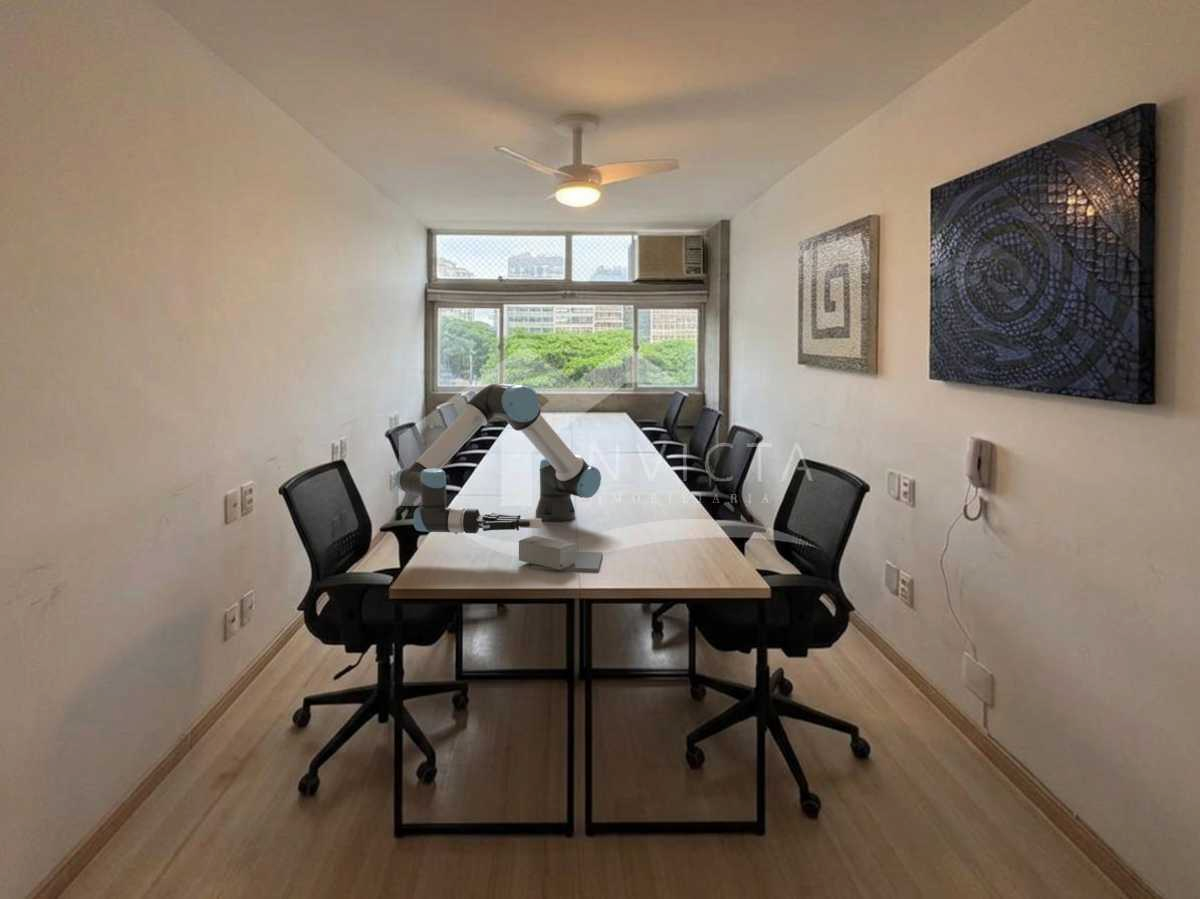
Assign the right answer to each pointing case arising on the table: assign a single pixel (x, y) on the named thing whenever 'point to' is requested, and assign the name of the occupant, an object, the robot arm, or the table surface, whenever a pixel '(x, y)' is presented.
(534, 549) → the skincare box
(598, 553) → the slate mat
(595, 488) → the robot arm
